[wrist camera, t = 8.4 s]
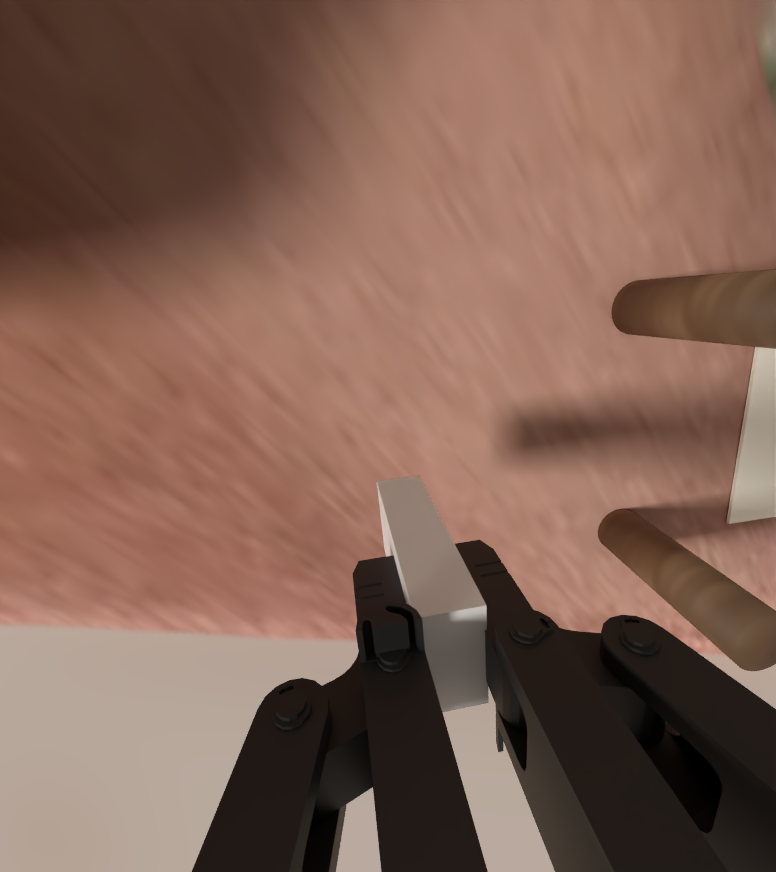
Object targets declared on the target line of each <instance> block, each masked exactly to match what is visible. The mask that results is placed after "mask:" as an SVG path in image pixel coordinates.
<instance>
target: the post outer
mask: <svg viewBox="0 0 776 872" xmlns="http://www.w3.org/2000/svg"><path fill="white" fill-rule="evenodd" d="M598 537H599V540H600V542H601V543H602V544H603V545H604V546H605V547H606V548H607V549H609V550H610V551H611V552H612V553H613V554H614V555H615V556H616V557H618V558H619V559H620V560H621V561H622V562H623V563H624V564H625V565H626V566H628V567H629V568H630V569H631V570H632V571H633V572H634V573H635V574H636V575H638V576H639V577H640V578H641V579H642V580H643V581H644V582H645V583H646V584H648V585H649V586H650V587H651V588H652V589H653V590H654V591H655V592H657V593H658V594H659V595H660V596H661V597H662V598H663V599H664V600H665V601H667V602H668V603H669V604H670V605H671V606H672V607H673V608H674V609H675V610H677V611H678V612H679V613H680V614H681V615H682V616H683V617H684V618H685V619H687V620H688V621H689V622H690V623H691V624H692V625H693V626H694V627H696V628H697V629H698V630H699V631H700V632H701V633H702V634H703V635H704V636H706V637H707V638H708V639H709V640H710V641H711V642H712V643H713V644H714V645H716V646H717V647H718V648H719V649H720V650H721V651H722V652H723V653H724V654H726V655H727V656H728V657H729V658H730V659H731V660H732V661H734V662H735V663H736V664H737V665H738V666H739V667H740V668H742V669H744V670H748V671H759V670H763V669H766V668H768V667H771V666H772V665H774V664H776V611H775V610H774V609H772V608H771V607H769V606H768V605H766V604H765V603H764V602H762V601H761V600H759V599H758V598H756V597H755V596H753V595H752V594H751V593H749V592H748V591H746V590H745V589H743V588H742V587H741V586H739V585H738V584H736V583H735V582H733V581H732V580H731V579H729V578H728V577H726V576H725V575H723V574H722V573H720V572H719V571H718V570H716V569H715V568H713V567H712V566H710V565H709V564H708V563H706V562H705V561H703V560H702V559H700V558H699V557H697V556H696V555H695V554H693V553H692V552H690V551H689V550H687V549H686V548H685V547H683V546H682V545H680V544H679V543H677V542H676V541H674V540H673V539H672V538H670V537H669V536H667V535H666V534H664V533H663V532H662V531H660V530H659V529H657V528H656V527H654V526H653V525H651V524H650V523H649V522H647V521H646V520H644V519H643V518H641V517H640V516H639V515H637V514H636V513H634V512H633V511H631V510H628V509H620V510H616V511H613V512H611V513H610V514H608V515H607V516H606V517H605V518H604V519H603V521H602V522H601V524H600V526H599V529H598Z"/></svg>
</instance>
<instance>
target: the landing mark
mask: <svg viewBox="0 0 776 872" xmlns="http://www.w3.org/2000/svg"><path fill="white" fill-rule="evenodd" d="M771 517H776V349H772V348H762V347H755V352H754V358H753V364H752V370H751V376H750V382H749V388H748V394H747V400H746V406H745V412H744V418H743V424H742V430H741V436H740V442H739V448H738V454H737V460H736V466H735V472H734V478H733V484H732V491H731V497H730V503H729V509H728V515H727V521H726V523H728V524H732V523H739V522H745V521H751V520H758V519H764V518H771Z"/></svg>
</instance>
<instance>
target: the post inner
mask: <svg viewBox="0 0 776 872" xmlns="http://www.w3.org/2000/svg"><path fill="white" fill-rule="evenodd" d="M612 319H613V322H614V324H615V326H616V327H617V328H618V329H619V330H620V331H621V332H623V333H626V334H631V335H641V336H652V337H662V338H672V339H682V340H692V341H702V342H712V343H722V344H732V345H742V346H752V347H762V348H772V349H776V269H772V270H760V271H748V272H736V273H723V274H711V275H699V276H687V277H675V278H662V279H650V280H638V281H634V282H631V283H629V284H627V285H626V286H625V287H623V288H622V289H621V290H620V291H619V293H618V294H617V296H616V298H615V300H614V302H613V306H612Z"/></svg>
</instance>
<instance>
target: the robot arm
mask: <svg viewBox="0 0 776 872" xmlns="http://www.w3.org/2000/svg"><path fill="white" fill-rule="evenodd" d="M377 487H378V496H379V505H380V514H381V523H382V532H383V540H384V549H385V553H386V557H380V558H374V559H368V560H362V561H359V562H358V564H357V566H356V568H355V570H354V572H353V582H354V592H355V602H356V612H357V626H356V636H357V643H358V649H359V653H358V656H357V659H356V660H355V662H354V663H353V665H352V666H351V667H350V669H349V670H347V671H346V672H345V673H344V674H343V675H341V676H340V677H338V678H336V679H335V680H333V681H331V682H329V683H327V684H325V685H323V686H321V685H320V684H318V683H317V682H316V681H314V680H309V679H304V678H300V679H294V680H289V681H287V682H285V683H283V684H281V685H279V686H277V687H276V688H274V690H272V691H271V692H270V693H269V694H268V695H267V696H266V697H265V698H264V700H263V701H262V703H261V705H260V706H259V708H258V710H257V712H256V715H255V717H254V719H253V722H252V724H251V727H250V729H249V732H248V734H247V737H246V739H245V742H244V744H243V747H242V749H241V752H240V754H239V756H238V759H237V761H236V764H235V767H234V769H233V771H232V774H231V777H230V779H229V781H228V784H227V786H226V789H225V791H224V794H223V796H222V798H221V801H220V803H219V806H218V808H217V811H216V813H215V816H214V819H213V821H212V823H211V826H210V828H209V831H208V833H207V835H206V838H205V840H204V843H203V845H202V848H201V850H200V853H199V855H198V858H197V860H196V863H195V865H194V868H193V870H192V872H336V866H337V860H338V854H339V848H340V842H341V835H342V829H343V823H344V817H345V811H346V804H347V803H349V802H350V801H352V800H353V799H355V798H357V797H358V796H360V795H361V794H363V793H364V792H366V791H367V790H369V789H370V788H372V787H373V791H374V801H375V811H376V821H377V831H378V841H379V851H380V860H381V870H382V872H487V868H486V865H485V861H484V858H483V854H482V851H481V847H480V843H479V840H478V836H477V833H476V830H475V826H474V822H473V819H472V815H471V812H470V808H469V805H468V801H467V798H466V794H465V791H464V787H463V784H462V780H461V777H460V773H459V770H458V766H457V762H456V759H455V755H454V752H453V748H452V745H451V741H450V738H449V734H448V731H447V727H446V724H445V720H444V717H443V713H442V712H445V711H450V710H455V709H460V708H465V707H470V706H475V705H479V704H484V703H488V687H489V689H490V691H491V694H492V696H493V699H494V701H495V703H496V742H497V748H498V752H501V751H503V741H504V743H505V746H506V748H507V751H508V753H509V756H510V758H511V761H512V763H513V766H514V769H515V771H516V774H517V776H518V779H519V781H520V784H521V786H522V789H523V791H524V794H525V796H526V799H527V801H528V804H529V806H530V809H531V811H532V814H533V817H534V819H535V822H536V824H537V827H538V829H539V832H540V834H541V837H542V839H543V842H544V844H545V847H546V849H547V852H548V854H549V857H550V859H551V862H552V864H553V867H554V870H555V872H776V709H775V708H773V707H772V706H770V705H769V704H768V703H766V702H765V701H764V700H762V699H761V698H759V697H758V696H757V695H755V694H754V693H752V692H751V691H750V690H748V689H747V688H745V687H744V686H743V685H741V684H740V683H739V682H737V681H736V680H734V679H733V678H732V677H730V676H728V675H727V674H726V673H725V672H723V671H722V670H721V669H719V668H717V667H716V666H715V665H714V664H712V663H711V662H709V661H708V660H707V659H705V658H704V657H702V656H701V655H700V654H698V653H697V652H696V651H694V650H693V649H691V648H690V647H689V646H687V645H686V644H684V643H683V642H682V641H680V640H679V639H677V638H676V637H675V636H673V635H672V634H671V633H669V632H668V631H666V630H665V629H664V628H662V627H660V626H658V625H657V624H655V623H653V622H651V621H650V620H647V619H643V618H640V617H637V616H628V615H620V616H615V617H611V618H610V619H608V620H607V621H606V622H605V623H604V624H603V627H602V631H601V633H590V632H578V631H571V630H565V629H562V628H559V627H558V626H557V624H556V623H555V622H554V621H553V620H552V619H551V618H550V617H548V616H546V615H544V614H542V613H540V612H539V611H535V610H533V609H532V607H531V606H530V604H529V603H528V601H527V600H526V598H525V596H524V595H523V593H522V592H521V590H520V589H519V587H518V586H517V584H516V583H515V581H514V580H513V578H512V577H511V575H510V574H509V573H508V572H507V569H506V568H505V566H504V565H503V563H501V560H500V558H499V557H498V555H497V554H496V552H495V551H494V549H493V548H491V547H490V546H488V545H487V544H485V543H484V542H482V541H481V540H476V541H470V542H464V543H458V544H454V542H453V540H452V538H451V536H450V534H449V532H448V530H447V528H446V526H445V524H444V522H443V520H442V518H441V517H440V515H439V513H438V511H437V509H436V507H435V505H434V503H433V501H432V499H431V497H430V495H429V493H428V491H427V489H426V488H425V486H424V484H423V482H422V480H421V478H420V476H419V475H418V476H411V477H404V478H397V479H390V480H383V481H377Z"/></svg>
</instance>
